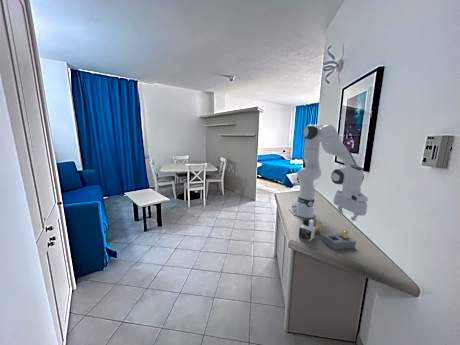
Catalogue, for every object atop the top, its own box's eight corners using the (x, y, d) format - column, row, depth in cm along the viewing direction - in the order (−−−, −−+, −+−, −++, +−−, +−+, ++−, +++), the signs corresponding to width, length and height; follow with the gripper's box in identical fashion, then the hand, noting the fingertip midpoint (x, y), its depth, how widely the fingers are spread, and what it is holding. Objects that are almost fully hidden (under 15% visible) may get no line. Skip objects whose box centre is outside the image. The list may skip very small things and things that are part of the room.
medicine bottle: (298, 237, 125) (300, 219, 123) (303, 233, 130) (305, 216, 128) (309, 241, 120) (312, 222, 118) (314, 237, 126) (316, 219, 123)
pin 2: (339, 242, 121) (340, 230, 120) (343, 242, 122) (345, 229, 121) (343, 245, 118) (345, 232, 117) (347, 244, 119) (349, 232, 118)
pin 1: (313, 232, 132) (315, 221, 131) (318, 232, 133) (319, 221, 132) (316, 235, 129) (318, 223, 128) (321, 234, 130) (322, 223, 129)
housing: (334, 249, 113) (335, 243, 112) (322, 240, 122) (323, 234, 122) (354, 247, 116) (356, 241, 115) (341, 239, 126) (342, 233, 125)
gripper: (332, 189, 124) (329, 210, 127) (361, 199, 105) (356, 224, 107) (341, 189, 126) (338, 210, 128) (370, 199, 106) (366, 224, 109)
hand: (346, 216), depth 117 cm, fingers open, 8 cm apart
